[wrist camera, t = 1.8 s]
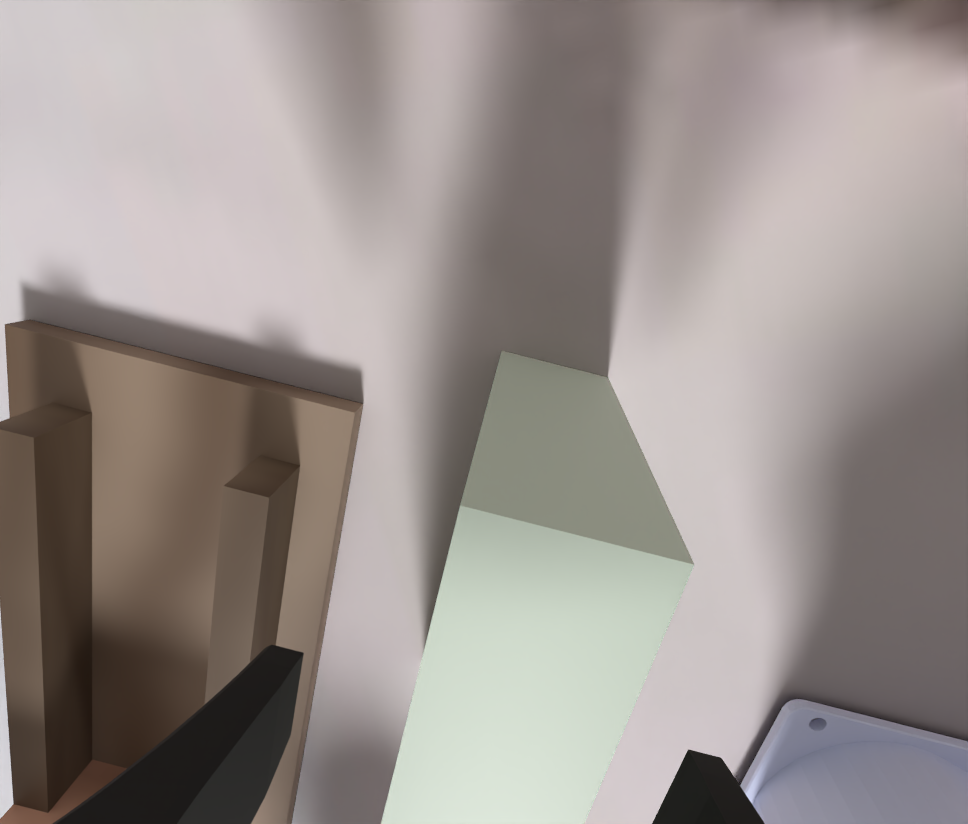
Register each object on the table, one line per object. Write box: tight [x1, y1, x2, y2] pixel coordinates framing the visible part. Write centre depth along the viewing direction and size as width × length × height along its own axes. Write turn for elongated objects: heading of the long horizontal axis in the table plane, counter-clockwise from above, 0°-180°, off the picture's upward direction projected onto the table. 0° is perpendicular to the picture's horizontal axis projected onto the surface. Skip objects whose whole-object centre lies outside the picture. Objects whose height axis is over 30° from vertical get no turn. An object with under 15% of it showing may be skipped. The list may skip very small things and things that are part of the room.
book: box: [381, 351, 694, 824], centre depth 13 cm, size 3×11×9 cm, turn 167°
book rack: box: [0, 320, 363, 824], centre depth 16 cm, size 10×18×7 cm, turn 167°
